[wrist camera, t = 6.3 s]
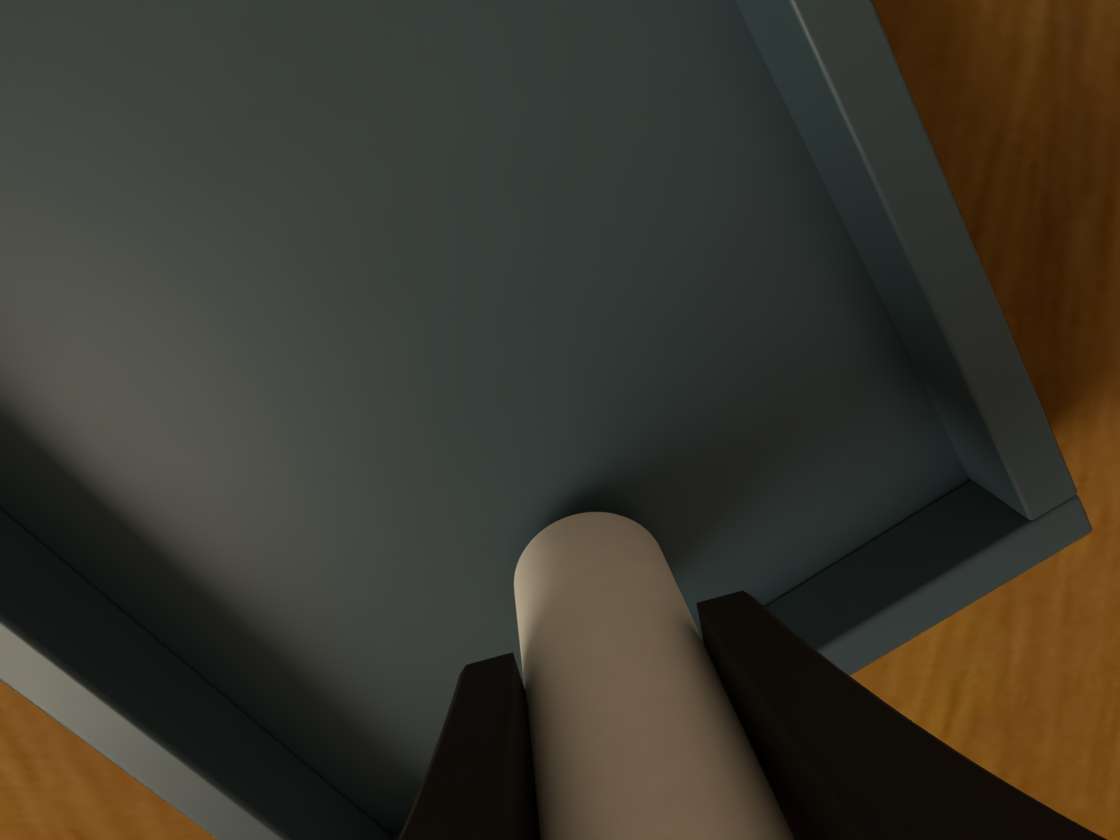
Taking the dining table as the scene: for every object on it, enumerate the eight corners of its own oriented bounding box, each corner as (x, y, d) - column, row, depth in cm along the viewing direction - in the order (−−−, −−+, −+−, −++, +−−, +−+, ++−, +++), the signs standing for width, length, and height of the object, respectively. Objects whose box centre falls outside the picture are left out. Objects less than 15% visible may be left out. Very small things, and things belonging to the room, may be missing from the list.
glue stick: (682, 621, 12) (1158, 1706, 4) (530, 662, 12) (674, 1855, 4) (655, 485, 11) (1220, 1553, 3) (487, 529, 11) (557, 1755, 3)
